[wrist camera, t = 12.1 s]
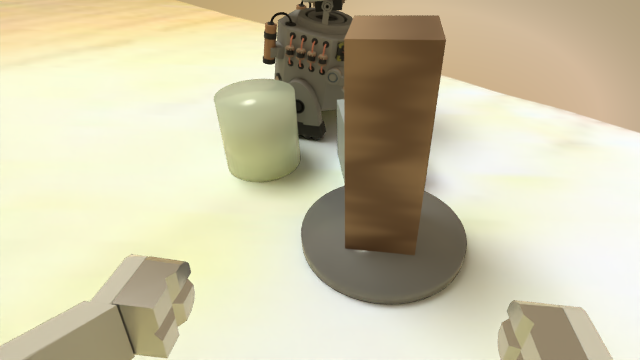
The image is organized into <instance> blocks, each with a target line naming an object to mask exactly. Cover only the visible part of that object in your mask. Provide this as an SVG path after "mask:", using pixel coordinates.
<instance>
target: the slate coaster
mask: <svg viewBox="0 0 640 360" xmlns="http://www.w3.org/2000/svg"><path fill="white" fill-rule="evenodd" d="M301 238H302V247H303V253H304V256H305V258H306V261H307V263H308V264H309V266H310V268H311V269H312V270H313V272H314V273H315V274H316V275H317V276H318V277H319V278H320V279H321V280H322V281H323V282H324V283H326V284H327V285H329V286H330V287H331V288H333V289H335V290H337V291H338V292H340V293H342V294H345V295H347V296H349V297H352V298H355V299H358V300H362V301H366V302H372V303H379V304H402V303H408V302H414V301H418V300H421V299H425V298H427V297H429V296H432V295H434V294H436V293H438V292H439V291H441V290H442V289H444V288H445V287H446V286H448V285H449V284H450V283H451V282H452V281H453V280H454V278H455V277H456V276H457V275H458V273H459V271H460V269H461V267H462V264H463V261H464V257H465V253H466V246H467V240H466V233H465V230H464V227H463V225H462V223H461V221H460V219H459V218H458V216H457V215H456V214H455V213H454V212H453V210H452V209H451V208H450V207H449V206H447V205H446V204H445V203H444V202H443V201H441V200H440V199H438V198H437V197H435V196H433V195H431V194H430V193H428V192H425V191H424V195H423V202H422V209H421V216H420V223H419V229H418V236H417V243H416V250H415V255H406V254H396V253H386V252H376V251H366V250H356V249H346V248H345V186H343V187H340V188H337V189H335V190H333V191H331V192H329V193H327V194H325V195H324V196H322V197H321V198H320V199H318V200H317V201H316V202H315V203H314V204H313V205H312V206H311V208H310V209H309V210H308V212H307V213H306V215H305V218H304V220H303V223H302V228H301Z"/></svg>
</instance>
